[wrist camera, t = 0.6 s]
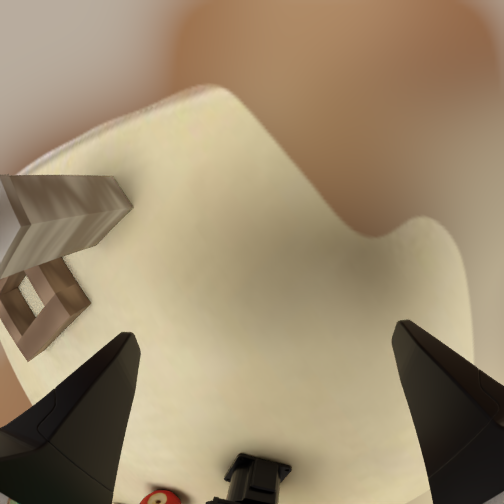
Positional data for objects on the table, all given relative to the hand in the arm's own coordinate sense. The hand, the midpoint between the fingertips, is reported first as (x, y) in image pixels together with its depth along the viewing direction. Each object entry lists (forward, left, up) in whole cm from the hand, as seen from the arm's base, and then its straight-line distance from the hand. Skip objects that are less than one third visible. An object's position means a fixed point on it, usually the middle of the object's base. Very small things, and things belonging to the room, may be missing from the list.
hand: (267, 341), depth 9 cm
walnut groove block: (-13, +23, -14) cm, 30 cm away
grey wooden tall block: (-2, +16, -14) cm, 21 cm away
